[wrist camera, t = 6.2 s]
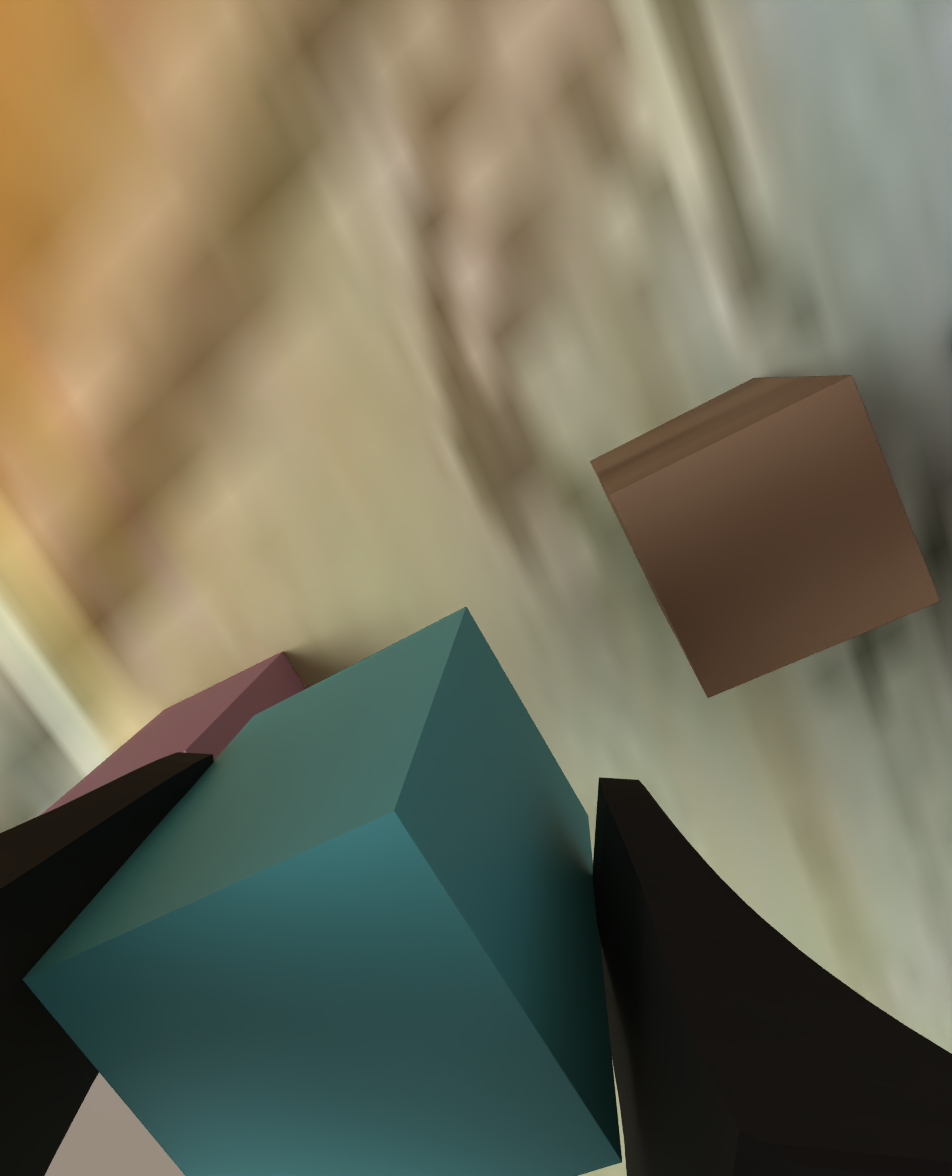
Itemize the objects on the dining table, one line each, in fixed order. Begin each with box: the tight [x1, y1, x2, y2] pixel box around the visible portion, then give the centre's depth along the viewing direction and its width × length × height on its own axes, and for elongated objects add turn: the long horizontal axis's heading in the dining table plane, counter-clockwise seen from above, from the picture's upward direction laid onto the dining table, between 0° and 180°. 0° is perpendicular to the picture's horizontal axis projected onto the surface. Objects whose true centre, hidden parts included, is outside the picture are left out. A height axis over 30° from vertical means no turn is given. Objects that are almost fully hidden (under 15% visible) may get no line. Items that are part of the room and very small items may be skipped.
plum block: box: [43, 652, 306, 814], centre depth 19 cm, size 4×4×6 cm
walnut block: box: [590, 375, 940, 698], centre depth 16 cm, size 4×4×6 cm
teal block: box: [22, 607, 622, 1176], centre depth 10 cm, size 4×4×6 cm
